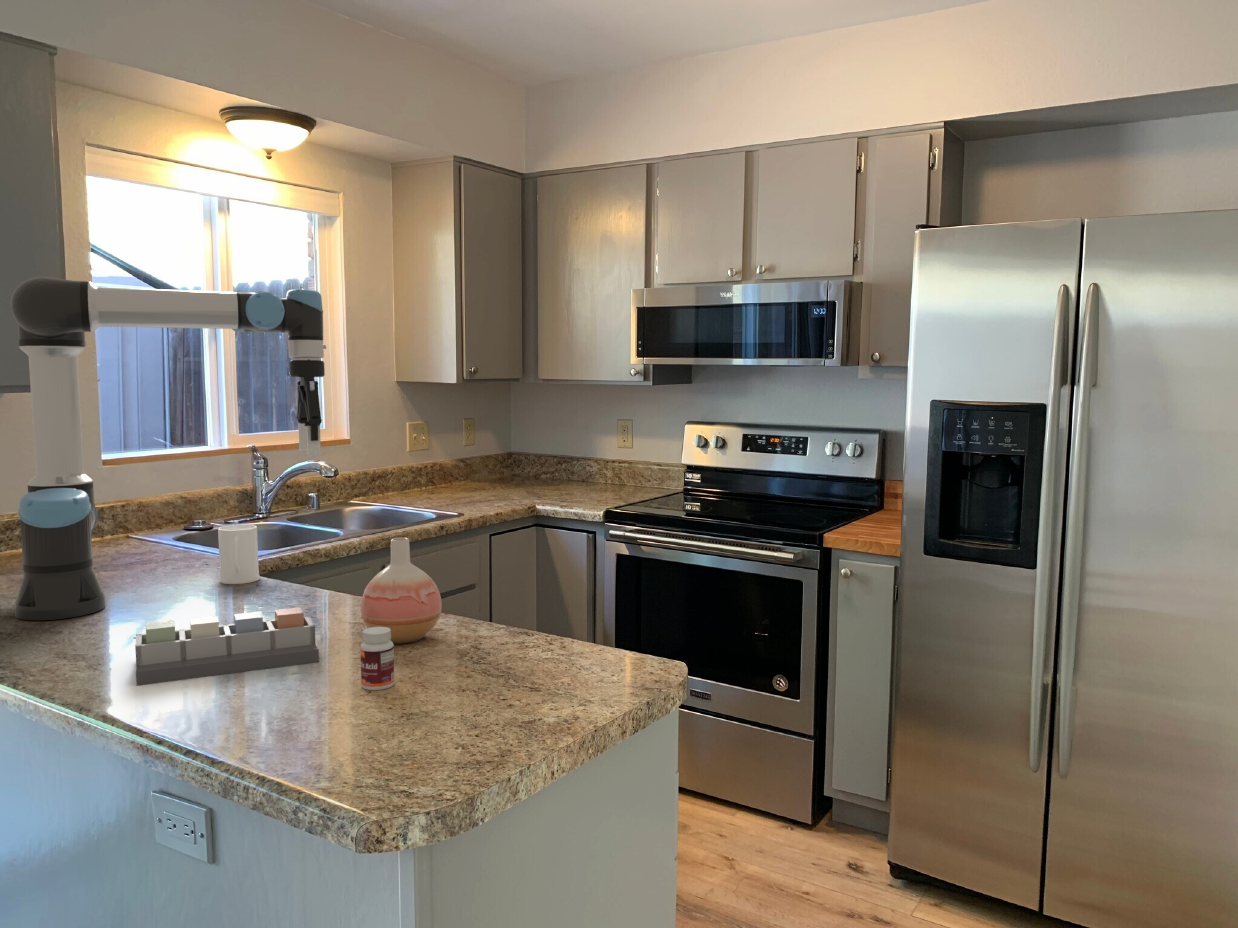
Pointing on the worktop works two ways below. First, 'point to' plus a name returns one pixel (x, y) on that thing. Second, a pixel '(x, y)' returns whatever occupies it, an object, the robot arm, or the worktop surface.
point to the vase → (401, 598)
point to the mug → (238, 554)
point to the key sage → (160, 632)
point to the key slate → (248, 622)
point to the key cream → (204, 627)
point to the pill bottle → (377, 659)
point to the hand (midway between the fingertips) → (309, 453)
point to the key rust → (289, 618)
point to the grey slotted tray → (224, 652)
